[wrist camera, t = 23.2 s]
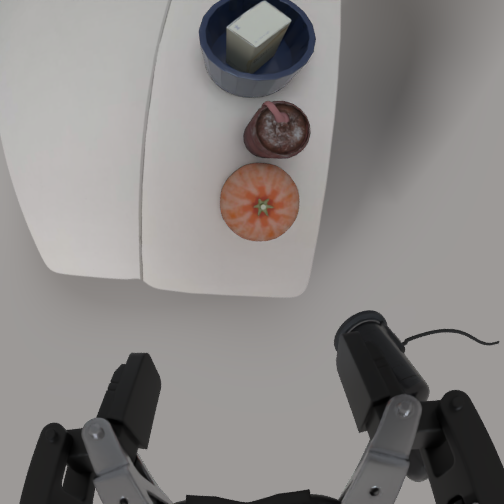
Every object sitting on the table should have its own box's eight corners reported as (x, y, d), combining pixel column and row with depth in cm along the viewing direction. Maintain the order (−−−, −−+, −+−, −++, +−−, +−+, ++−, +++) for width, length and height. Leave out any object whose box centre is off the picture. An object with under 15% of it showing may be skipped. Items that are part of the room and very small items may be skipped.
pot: (288, 21, 31) (304, -8, 22) (301, 94, 36) (323, 78, 26) (201, 28, 31) (195, -3, 21) (210, 103, 35) (205, 87, 26)
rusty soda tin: (266, 108, 36) (286, 86, 23) (292, 141, 38) (324, 135, 25) (233, 132, 37) (236, 120, 24) (260, 165, 39) (278, 170, 26)
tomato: (241, 244, 43) (245, 264, 36) (207, 183, 39) (202, 190, 32) (303, 212, 42) (319, 225, 35) (272, 149, 38) (283, 148, 31)
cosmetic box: (246, 79, 34) (255, 50, 23) (224, 62, 33) (224, 27, 21) (275, 54, 33) (294, 20, 21) (253, 37, 31) (264, -2, 20)
